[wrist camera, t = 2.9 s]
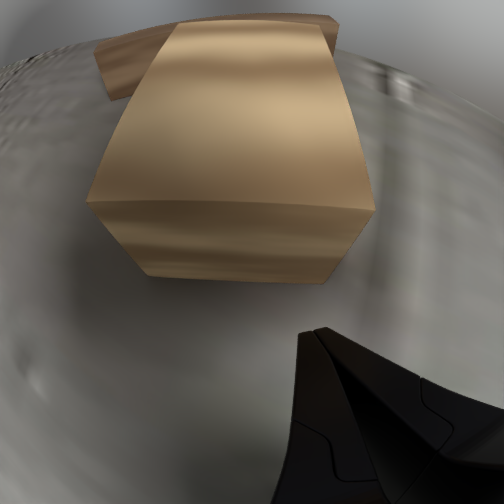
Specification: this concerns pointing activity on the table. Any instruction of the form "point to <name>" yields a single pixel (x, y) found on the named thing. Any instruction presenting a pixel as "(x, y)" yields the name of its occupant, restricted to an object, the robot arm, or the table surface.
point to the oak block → (236, 158)
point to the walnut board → (152, 39)
